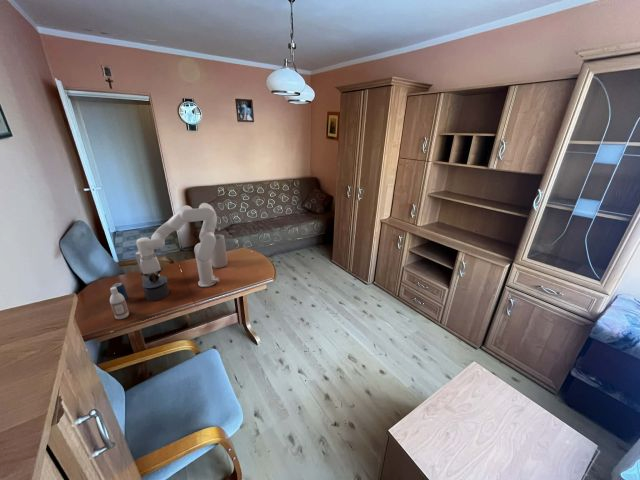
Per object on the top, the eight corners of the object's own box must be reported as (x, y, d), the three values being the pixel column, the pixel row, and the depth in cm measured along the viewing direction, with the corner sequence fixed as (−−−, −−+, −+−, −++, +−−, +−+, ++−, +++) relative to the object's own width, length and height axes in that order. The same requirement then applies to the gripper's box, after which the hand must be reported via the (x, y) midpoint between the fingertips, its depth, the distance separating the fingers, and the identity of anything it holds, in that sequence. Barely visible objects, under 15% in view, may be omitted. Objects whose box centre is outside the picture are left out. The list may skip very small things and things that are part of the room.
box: (160, 278, 200) (153, 248, 190) (156, 284, 192) (148, 253, 183) (148, 279, 198) (140, 249, 189) (143, 285, 191) (135, 254, 181)
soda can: (126, 295, 178) (121, 280, 174) (129, 299, 174) (124, 284, 170) (113, 300, 174) (108, 284, 169) (117, 304, 169) (112, 288, 165)
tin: (172, 289, 186) (170, 279, 183) (162, 301, 174) (159, 290, 171) (153, 289, 186) (150, 278, 183) (141, 300, 174) (138, 290, 170)
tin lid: (171, 277, 184) (169, 268, 181) (160, 289, 170) (157, 279, 167) (150, 277, 183) (148, 268, 180) (137, 289, 170) (134, 279, 167)
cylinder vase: (209, 264, 222) (205, 236, 212) (223, 259, 229) (220, 233, 220) (215, 269, 213) (211, 241, 203) (230, 265, 221) (226, 237, 211)
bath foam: (115, 321, 155) (105, 292, 147) (115, 314, 160) (106, 286, 153) (129, 317, 159) (120, 289, 151) (129, 310, 164) (120, 283, 156)
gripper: (161, 251, 175) (168, 275, 183) (132, 257, 168) (140, 281, 175) (162, 255, 170) (168, 280, 177) (132, 261, 162) (140, 287, 169)
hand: (154, 280), depth 176 cm, fingers closed on tin lid, 2 cm apart
